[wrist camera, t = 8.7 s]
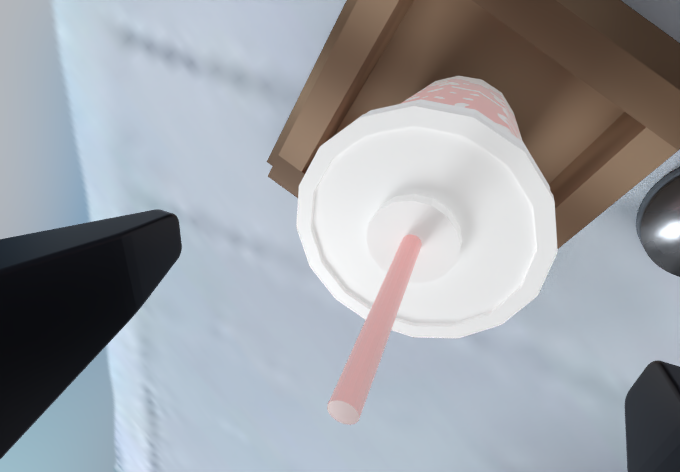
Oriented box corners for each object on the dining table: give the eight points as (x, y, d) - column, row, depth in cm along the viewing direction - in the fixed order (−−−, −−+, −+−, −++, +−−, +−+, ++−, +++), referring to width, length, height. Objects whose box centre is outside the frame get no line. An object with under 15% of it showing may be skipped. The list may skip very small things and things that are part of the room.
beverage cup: (557, 177, 17) (655, 578, 5) (414, 218, 20) (278, 530, 8) (509, 23, 15) (500, 120, 3) (360, 94, 18) (84, 276, 6)
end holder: (477, 301, 22) (471, 348, 19) (276, 155, 22) (240, 179, 19) (732, 86, 14) (787, 108, 11) (424, -139, 14) (402, -172, 11)
